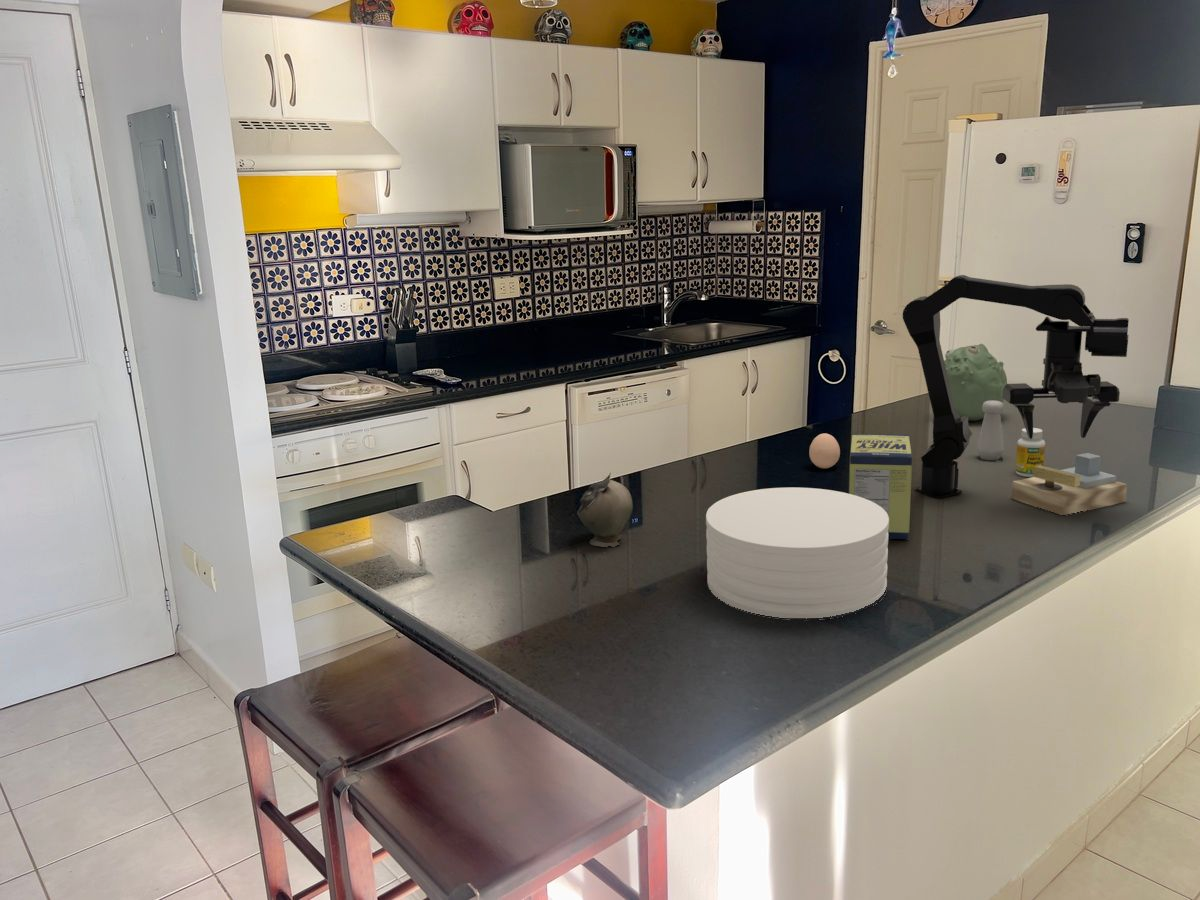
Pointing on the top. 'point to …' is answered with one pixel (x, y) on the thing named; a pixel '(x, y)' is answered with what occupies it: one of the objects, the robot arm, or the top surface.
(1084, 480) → the lid
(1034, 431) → the supplement bottle
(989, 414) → the salt shaker
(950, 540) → the top surface
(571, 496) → the top surface
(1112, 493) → the birch box
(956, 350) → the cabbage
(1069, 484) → the tan wooden bar
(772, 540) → the plate stack
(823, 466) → the egg
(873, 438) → the protein box
